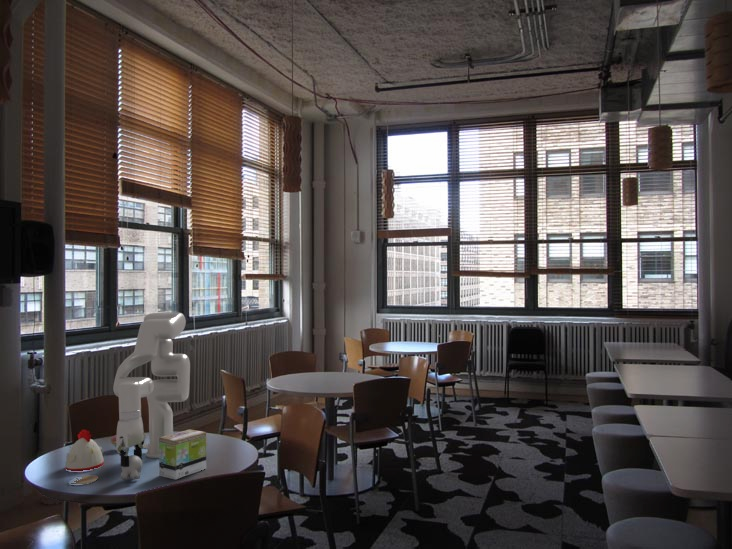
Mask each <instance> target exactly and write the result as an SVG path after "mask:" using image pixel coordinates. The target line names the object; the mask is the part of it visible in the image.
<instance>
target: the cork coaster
mask: <svg viewBox="0 0 732 549" xmlns="http://www.w3.org/2000/svg"><path fill="white" fill-rule="evenodd" d="M80 476H81V477H82V479H80V480H79V479H78V478H76V479H77V480H78V481H77V480H76V481H74V482H76V483H71V484H87V483H91V482H93V481H96V480H97V479H98V480H99V476H98V475H95V474H85V475H80ZM98 480H97V481H98ZM97 481H96V482H97ZM91 484H92V483H91ZM87 485H88V484H87Z"/></svg>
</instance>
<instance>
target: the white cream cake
mask: <svg viewBox="0 0 732 549" xmlns="http://www.w3.org/2000/svg"><path fill="white" fill-rule="evenodd" d="M91 437H92V434H90V430H87V429H81V431H79V433H78V434H77V439H78V440H76V441H75V442H74V443H73V445H72V446H71V447H70V449H69V451H68V452H66V456H65V458H66V461H65V465H64V469H65V468H66V469H67V470H71V471H83V470H90V469H94V468H98V467H100V466H102V465H103V464H104V463H105V461H104V456H103V452H104V451H103V448H102V446H99V445H98V444H97V442H96V441H95V440H93V439H91ZM104 465H105V464H104ZM104 465H103V466H104Z"/></svg>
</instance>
